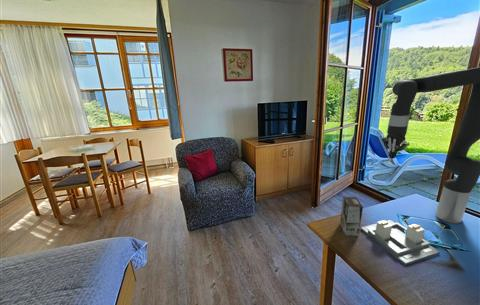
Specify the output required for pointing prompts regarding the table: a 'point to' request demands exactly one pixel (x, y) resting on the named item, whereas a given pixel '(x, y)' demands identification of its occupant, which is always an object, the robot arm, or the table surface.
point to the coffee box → (351, 216)
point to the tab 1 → (383, 229)
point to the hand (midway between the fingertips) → (391, 158)
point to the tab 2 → (415, 233)
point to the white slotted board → (401, 244)
